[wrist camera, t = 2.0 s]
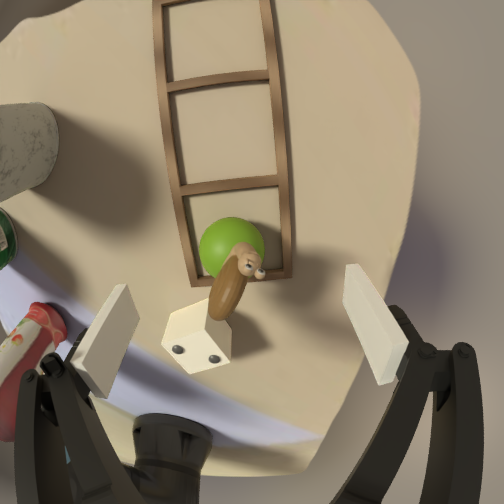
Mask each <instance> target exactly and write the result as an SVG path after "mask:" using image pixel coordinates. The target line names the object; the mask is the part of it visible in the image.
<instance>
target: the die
mask: <svg viewBox="0 0 504 504" xmlns="http://www.w3.org/2000/svg"><path fill="white" fill-rule="evenodd" d="M208 301H209V298H207V299H204V300H202V301H199V302H197V303H194V304H192V305H189V306H187V307H184V308H182V309H179V310H177V311H174V312H172V313H171V314H170V318H169V321H168V324H167V327H166V330H165V333H164V336H163V340H162V343H161V345H162V346H163V347H164V348H165V349H166V350H167V351H168V352H169V353H170V354H171V356H172V357H173V358H174V359H175V360H176V361H177V362H178V363H179V364H180V365H181V366H182V367H183V368H184V369H185V370H186V371H187V372H188V373H189V374H193V373H196V372H200V371H203V370H207V369H211V368H214V367H217V366H221V365H224V364H227V363H231V343H232V329H231V328H230V326H229V325H228V323H227V322H226V321H225V320H222V321H215V320H213V319H212V318H211V317H210V316H209V314H208V303H209V302H208Z"/></svg>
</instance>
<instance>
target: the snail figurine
mask: <svg viewBox="0 0 504 504" xmlns="http://www.w3.org/2000/svg"><path fill="white" fill-rule="evenodd" d="M264 254H265V247H264V241H263V238H262V236H261V234H260V232H259V231H258V230H257V228H256V227H255V226H254V225H252V224H251V223H250V222H248V221H246V220H244V219H241V218H235V217H228V218H223V219H220V220H218V221H216V222H214V223H213V224H211V225H210V226H209V227H208V228H207V229H206V231H205V232H204V234H203V236H202V238H201V241H200V246H199V255H200V259H201V262H202V265H203V266H204V268H205V269H206V271H207V272H208V273H209V274H210V275H211V276H212V277H214V278H215V281H214V283H213V286H212V288H211V291H210V295H209V301H208V302H209V303H208V314H209V316H210V317H211V318H212V319H213V320H215V321H222V320H225V319H226V318H228V317H229V316H230V315H231V314H232V312H233V311H234V309H235V308H236V306H237V304H238V302H239V301H240V299H241V296H242V294H243V292H244V289H245V286H246V284H247V280H248V278H250V277H251V276H253V275H255V277H256V278H257V279H263V278H264V277H265V271H264V270H263V269H261V268H260V267H261V264H262V262H263V259H264Z"/></svg>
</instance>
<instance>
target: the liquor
mask: <svg viewBox="0 0 504 504" xmlns="http://www.w3.org/2000/svg"><path fill="white" fill-rule="evenodd" d="M66 338H67V329H66V326H65V324H64V321H63V318H62V316H61V315H60V314H59V312H58V311H57V310H56V309H55V308H53V307H52V306H50V305H47V304H44V303H40V302H34V303H32V304H31V305H30V308H29V312H28V314H27V315H26V316H25V317H24V318H23V319H22V321H21V322H20V323H19V324H18V325H17V326H16V328H15V329H14V330H13V331H12V332H11V333H10V335H9V336H8V337H7V338H6V340H5V341H4V342H3V343H2V344H1V346H0V441H4V442H14V439H15V421H16V410H17V401H18V393H19V386H20V380H21V377H22V375H23V373H24V372H26V371H27V370H29V369H35V370H36V371H37V372H38V373H39V374H40V375H42V374H43V370H42V369H41V368H40V361H41V359H42V358H43V357H44V356H45V355H47V354H49V353H52V352H55V350H56V349H57V347H58V345H59V343H60V342H63V341H65V340H66Z"/></svg>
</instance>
